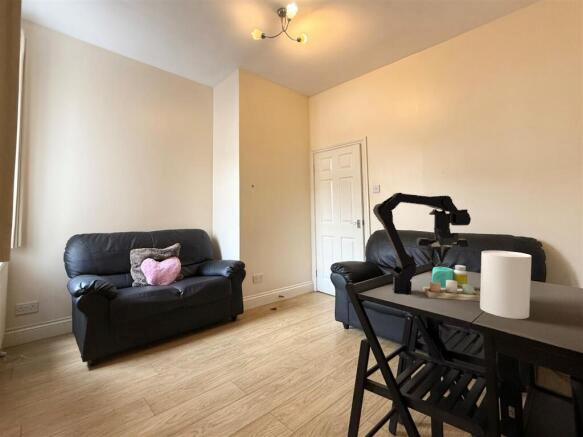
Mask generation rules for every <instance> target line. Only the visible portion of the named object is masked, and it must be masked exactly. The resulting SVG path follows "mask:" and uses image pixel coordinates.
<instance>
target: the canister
mask: <svg viewBox="0 0 583 437" xmlns="http://www.w3.org/2000/svg"><path fill="white" fill-rule="evenodd" d="M480 258H481V259H480V260H481V262H480V263H481V264H480V290H479V291H480V293H479V295H480V301H479V308H480V309H481V310H482V311H484V312H485V313H488V314H491V315H494V316H497V317H501V318H502V317H503V318H506V319H515V320H517V319H519V320H522V319H523V320H525V319H527V318H529V317H530V303H531V301H530V300H531V276H532V255H531V254H527V253H523V252H516V251H507V250H483V251H481V257H480Z"/></svg>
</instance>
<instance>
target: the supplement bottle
mask: <svg viewBox="0 0 583 437" xmlns="http://www.w3.org/2000/svg"><path fill="white" fill-rule="evenodd" d="M466 268H467V267H466V265H461V264H456V265H455V266H454V269H453V280H454V281H457V289H462V285H463V284H468V272H467V270H466Z"/></svg>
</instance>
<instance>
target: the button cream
mask: <svg viewBox="0 0 583 437" xmlns="http://www.w3.org/2000/svg"><path fill="white" fill-rule="evenodd" d="M457 289H458V288H457V281H454V280H446V291H448V292H453V293H455V292H457Z"/></svg>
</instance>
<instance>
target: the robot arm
mask: <svg viewBox="0 0 583 437" xmlns="http://www.w3.org/2000/svg"><path fill="white" fill-rule="evenodd" d="M401 203H405V204H413V205H421V206H422V205H423V206H426V207H429V208H431V209H432V210H431V211H430V212H429V213H428V215H431V216H432V215H433V216H434V218H433V219H434V220H433V221H434V222H433V224H434V226H433V239H429V238H427V237H416V245H418V247H419V246H420V247H421V246H423V247H427V246H429V245H430V247H431V248H433V249H434V251H435V253H436V255H437V259H438V261H439V263H441V264H442V263H444V260H445V258H446V256H447V253H448V252H449V251H450V250H451V249H454V247H453V246H454V245H455V246H459V247H460V248H469V247H470V242H469V240H468V239H466V238H459V237H460V235H459V233H458V232H453V233H451V228H450V225H451V226H456V227H457V226H461V227H462V226H463V227H464V226H469V225H470V224H471V220H472V218H471V216H470V213H469V212H468V209H465V208H464V209H459V208H457V206H456V205H455V203H454V202H453V198H452V197H451V196H449V195H433V196H429V195H427V196H426V195H421V194H420V195H418V194H409V193H402V192H395V193H393V194H392V195H390V197H388V198H387V199H385V200H384V201H382V202H381V203H377V204H375V205H374V206H373V209H372V211H373V212H372V213H373V214H374V216H375V218H377V220H378V222H379V223H381V225H382V227H383V229H384V231H385V233H386V237H387V238H388V240H389V243H390V245H391V248H392V250H393V253H394V255H395V263H396V266H394V267H393V268H392V269H391V273H392V275H393V286H392V291H393V293H394V294H402V295H403V294H404V295H411V294H412V287H413V286H412V285H413V284H412V281H411V280H412V278H413V276H414V274H415V273H416V272H417V269H418V267H417V266H418V264H417V262H416V260H415V257H414V255H412V254H409V253H407V250H406V249H405V246H404V244H403V242H402V239H401V237H400V235H399V232H398V230H397V228H396V226H395V223H394V215H393V210H394V209H396V208H397V207H398V206H399V205H400V204H401Z"/></svg>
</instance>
